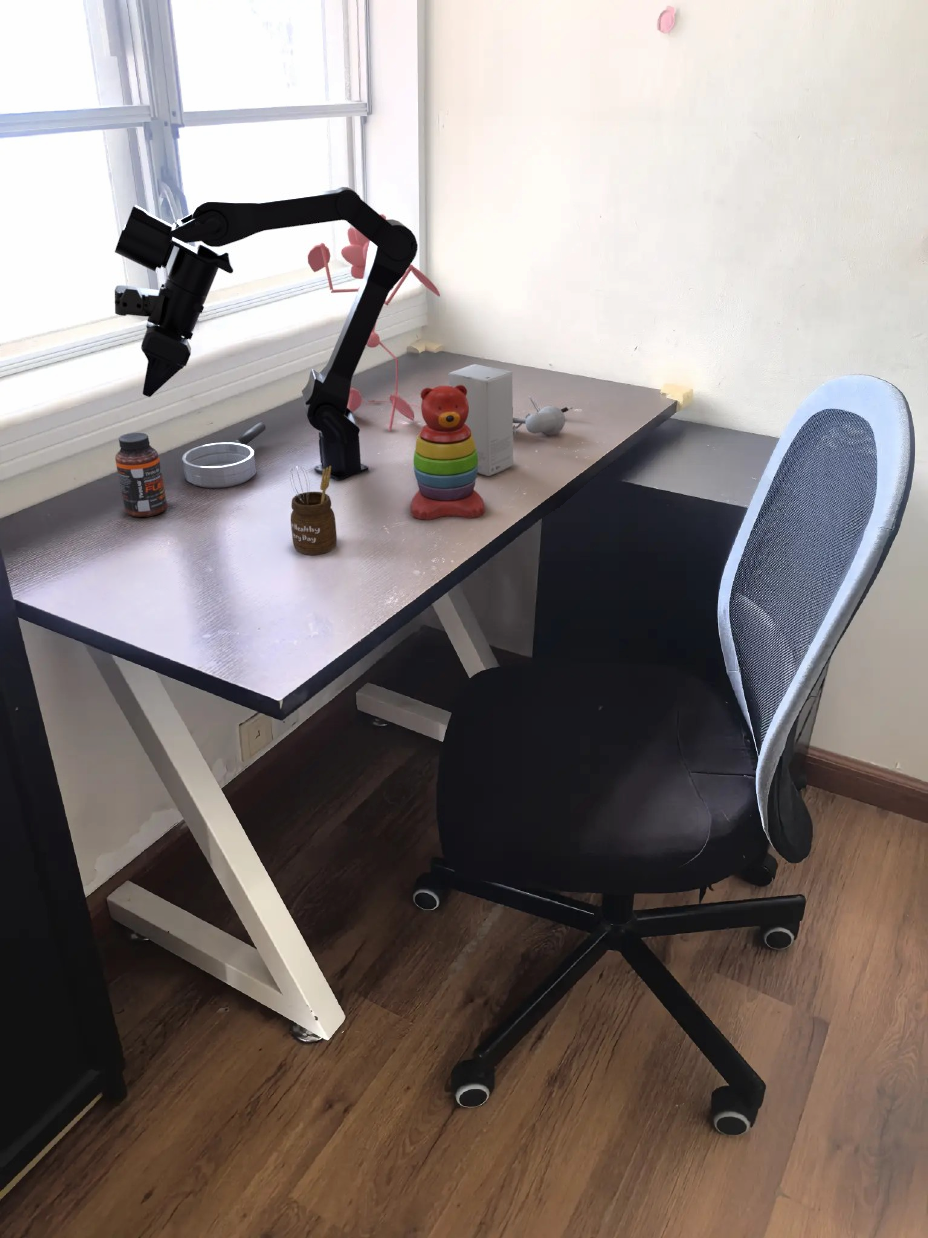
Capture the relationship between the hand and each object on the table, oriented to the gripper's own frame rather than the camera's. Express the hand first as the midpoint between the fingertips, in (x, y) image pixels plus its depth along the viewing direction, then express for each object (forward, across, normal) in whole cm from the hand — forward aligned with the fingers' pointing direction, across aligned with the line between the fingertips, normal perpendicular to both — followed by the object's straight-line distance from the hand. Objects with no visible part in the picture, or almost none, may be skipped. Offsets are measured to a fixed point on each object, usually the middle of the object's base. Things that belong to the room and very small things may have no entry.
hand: (147, 386), depth 135 cm
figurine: (-5, -25, +42) cm, 49 cm away
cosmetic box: (-11, +4, +51) cm, 52 cm away
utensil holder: (+4, +27, +26) cm, 37 cm away
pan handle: (+5, -12, +18) cm, 23 cm away
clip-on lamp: (-17, -11, +63) cm, 66 cm away
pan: (+10, -3, +15) cm, 18 cm away
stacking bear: (-6, +18, +43) cm, 47 cm away
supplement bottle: (+15, +9, +6) cm, 18 cm away
